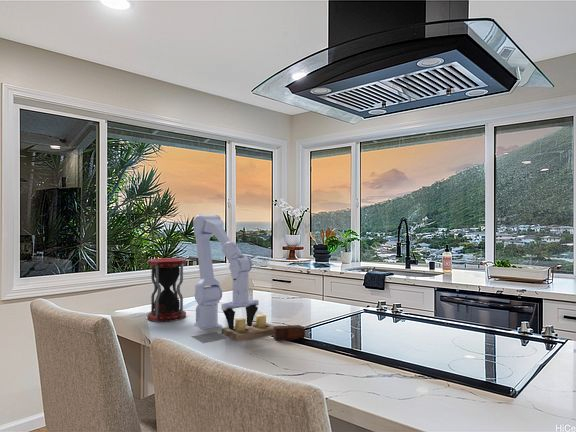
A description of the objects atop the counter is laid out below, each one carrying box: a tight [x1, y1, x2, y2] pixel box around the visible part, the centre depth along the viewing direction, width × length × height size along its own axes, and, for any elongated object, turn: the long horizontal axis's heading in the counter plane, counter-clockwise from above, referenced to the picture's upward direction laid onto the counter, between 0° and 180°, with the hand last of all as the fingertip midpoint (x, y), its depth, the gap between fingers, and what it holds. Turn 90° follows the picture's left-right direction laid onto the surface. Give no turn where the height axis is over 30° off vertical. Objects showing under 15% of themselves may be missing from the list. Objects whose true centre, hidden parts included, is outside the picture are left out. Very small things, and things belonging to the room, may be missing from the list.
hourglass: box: [146, 257, 187, 323], centre depth 179 cm, size 16×16×25 cm
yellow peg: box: [234, 317, 247, 333], centre depth 151 cm, size 4×4×6 cm
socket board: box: [221, 321, 275, 342], centre depth 154 cm, size 12×18×2 cm, turn 127°
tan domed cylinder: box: [255, 314, 267, 329], centre depth 157 cm, size 4×4×6 cm
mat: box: [190, 331, 229, 344], centre depth 148 cm, size 10×10×1 cm
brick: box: [273, 324, 306, 342], centre depth 147 cm, size 11×4×5 cm, turn 106°
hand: (240, 327), depth 151 cm, fingers open, 7 cm apart
